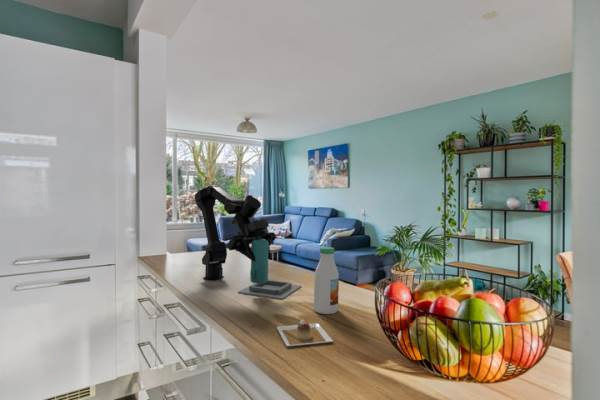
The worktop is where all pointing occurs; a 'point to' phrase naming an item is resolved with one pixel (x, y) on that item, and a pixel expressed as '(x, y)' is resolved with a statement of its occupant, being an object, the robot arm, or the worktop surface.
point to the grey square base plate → (271, 289)
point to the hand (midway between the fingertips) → (262, 259)
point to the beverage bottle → (259, 258)
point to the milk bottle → (326, 283)
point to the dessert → (304, 333)
